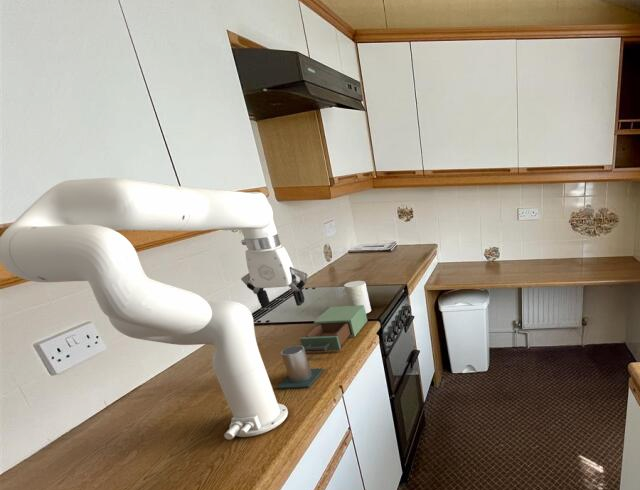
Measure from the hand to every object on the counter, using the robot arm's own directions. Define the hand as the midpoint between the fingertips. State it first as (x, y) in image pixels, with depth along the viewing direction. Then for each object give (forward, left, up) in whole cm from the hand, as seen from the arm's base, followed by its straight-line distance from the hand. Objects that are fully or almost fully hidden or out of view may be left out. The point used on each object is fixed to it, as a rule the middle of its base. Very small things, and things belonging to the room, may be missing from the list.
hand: (283, 304), depth 112 cm
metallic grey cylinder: (-2, 0, -22) cm, 22 cm away
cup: (+51, 0, -23) cm, 56 cm away
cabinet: (+33, 0, -22) cm, 40 cm away
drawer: (+18, 0, -22) cm, 28 cm away
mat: (-3, 0, -22) cm, 23 cm away
